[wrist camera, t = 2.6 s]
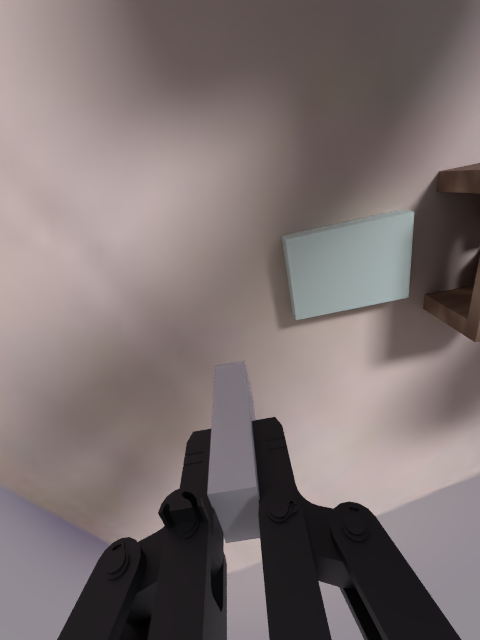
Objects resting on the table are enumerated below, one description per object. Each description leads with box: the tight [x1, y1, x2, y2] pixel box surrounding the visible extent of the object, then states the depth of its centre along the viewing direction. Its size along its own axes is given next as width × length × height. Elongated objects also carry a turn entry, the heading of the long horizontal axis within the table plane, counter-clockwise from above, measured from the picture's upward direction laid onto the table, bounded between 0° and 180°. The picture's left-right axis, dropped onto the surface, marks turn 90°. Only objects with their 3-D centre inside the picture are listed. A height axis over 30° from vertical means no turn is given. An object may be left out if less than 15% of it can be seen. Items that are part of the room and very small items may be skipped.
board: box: [282, 209, 414, 320], centre depth 27 cm, size 8×11×2 cm
